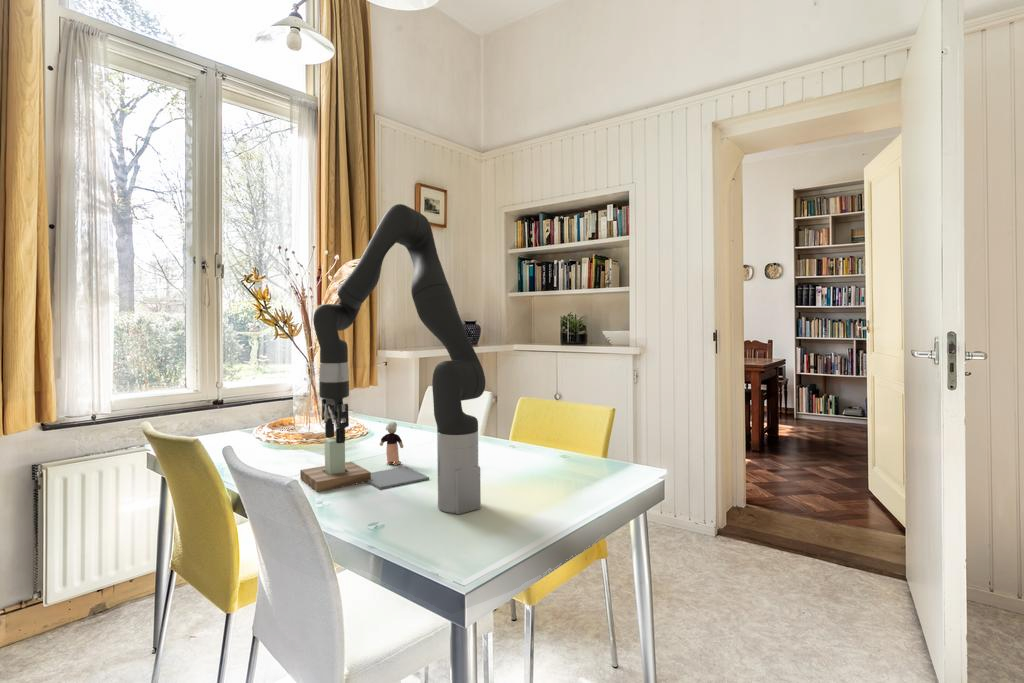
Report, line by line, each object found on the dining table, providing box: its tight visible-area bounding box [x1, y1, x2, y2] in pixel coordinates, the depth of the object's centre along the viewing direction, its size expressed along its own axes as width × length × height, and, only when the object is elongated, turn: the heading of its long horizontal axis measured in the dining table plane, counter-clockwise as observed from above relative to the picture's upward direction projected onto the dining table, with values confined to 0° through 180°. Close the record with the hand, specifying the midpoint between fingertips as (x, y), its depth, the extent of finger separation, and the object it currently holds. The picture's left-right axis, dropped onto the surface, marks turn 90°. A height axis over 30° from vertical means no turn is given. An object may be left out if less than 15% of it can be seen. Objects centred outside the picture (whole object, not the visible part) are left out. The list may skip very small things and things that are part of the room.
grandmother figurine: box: [379, 421, 404, 466], centre depth 158 cm, size 8×4×13 cm, turn 84°
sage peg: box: [324, 437, 346, 475], centre depth 141 cm, size 4×4×11 cm
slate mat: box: [366, 465, 430, 490], centre depth 143 cm, size 14×14×1 cm
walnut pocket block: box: [299, 461, 372, 493], centre depth 141 cm, size 14×14×2 cm
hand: (335, 440), depth 141 cm, fingers open, 8 cm apart
